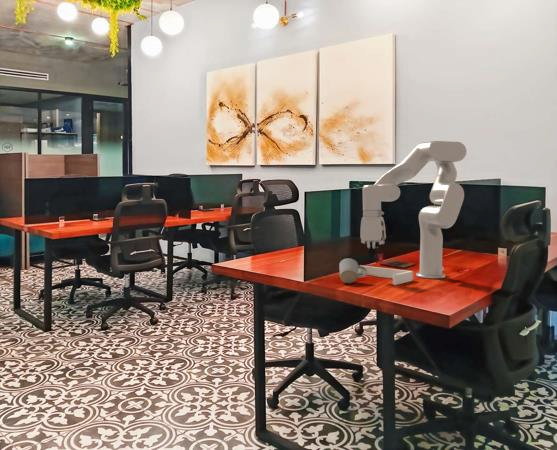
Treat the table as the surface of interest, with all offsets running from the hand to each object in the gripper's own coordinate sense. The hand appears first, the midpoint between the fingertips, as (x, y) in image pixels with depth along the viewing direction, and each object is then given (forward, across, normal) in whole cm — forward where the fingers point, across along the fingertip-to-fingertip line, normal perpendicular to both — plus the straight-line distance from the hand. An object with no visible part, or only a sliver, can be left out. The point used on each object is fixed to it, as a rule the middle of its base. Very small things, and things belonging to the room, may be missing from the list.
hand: (373, 257), depth 215 cm
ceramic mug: (+10, +3, +12) cm, 15 cm away
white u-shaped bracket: (+10, +1, -2) cm, 10 cm away
